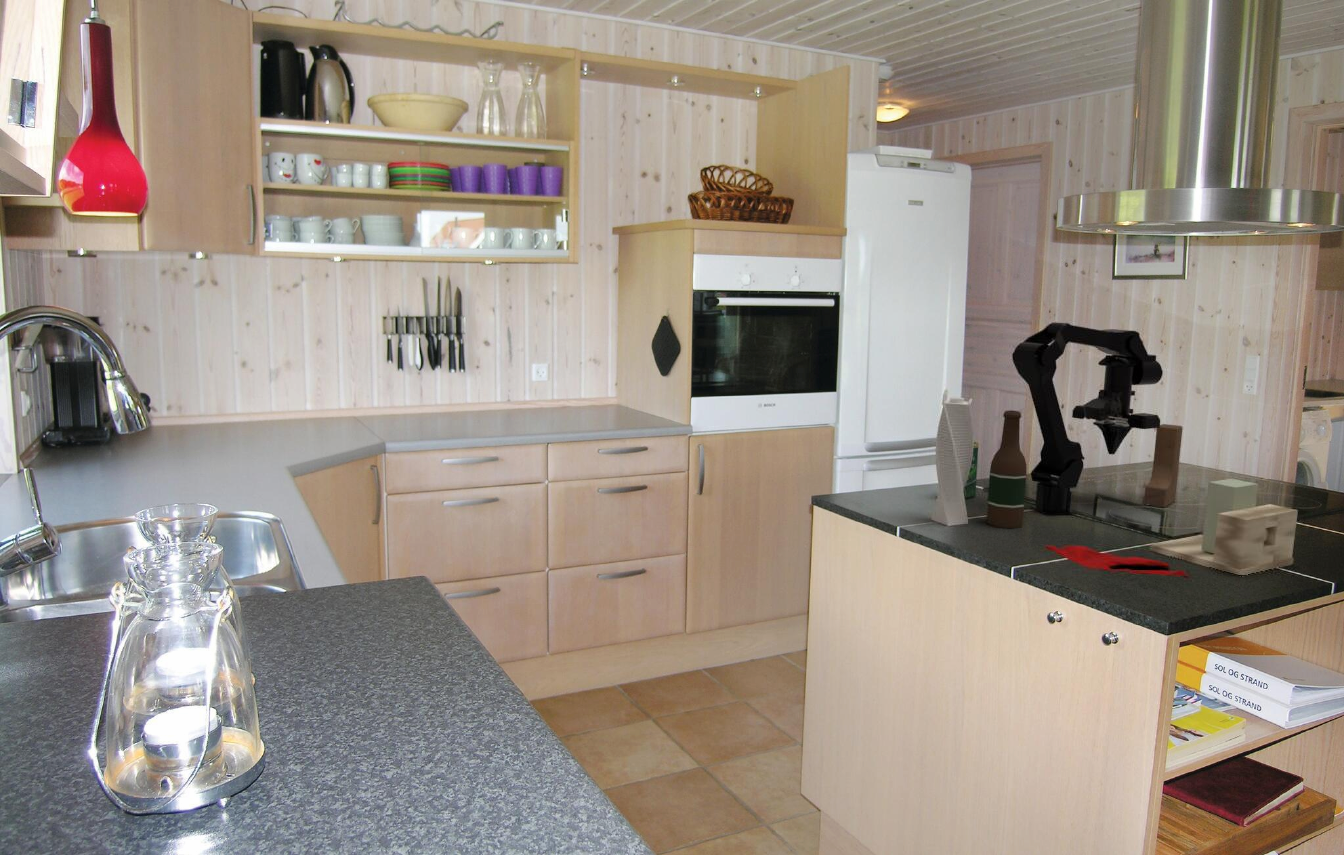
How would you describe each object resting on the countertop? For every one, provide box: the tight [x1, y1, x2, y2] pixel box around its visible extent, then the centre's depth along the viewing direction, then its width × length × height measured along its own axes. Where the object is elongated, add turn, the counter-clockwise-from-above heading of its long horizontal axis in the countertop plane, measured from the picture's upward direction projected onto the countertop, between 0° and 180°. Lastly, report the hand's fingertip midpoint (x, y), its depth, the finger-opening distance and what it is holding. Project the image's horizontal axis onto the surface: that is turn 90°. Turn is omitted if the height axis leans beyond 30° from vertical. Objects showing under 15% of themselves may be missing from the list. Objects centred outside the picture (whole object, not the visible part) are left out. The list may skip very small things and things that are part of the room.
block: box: [1201, 478, 1268, 553], centre depth 175 cm, size 9×7×13 cm
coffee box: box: [963, 441, 979, 500], centre depth 222 cm, size 8×3×13 cm, turn 122°
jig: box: [1149, 503, 1299, 576], centre depth 178 cm, size 18×16×10 cm
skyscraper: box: [931, 388, 975, 527], centre depth 200 cm, size 8×8×28 cm
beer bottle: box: [986, 409, 1027, 529], centre depth 199 cm, size 8×8×24 cm
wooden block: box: [1143, 423, 1184, 509], centre depth 220 cm, size 9×4×18 cm, turn 138°
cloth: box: [1044, 544, 1190, 578], centre depth 175 cm, size 26×14×2 cm, turn 33°
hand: (1111, 454), depth 216 cm, fingers closed
